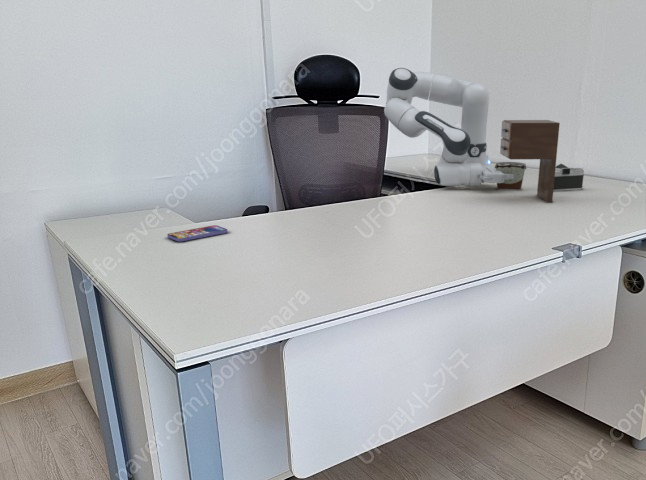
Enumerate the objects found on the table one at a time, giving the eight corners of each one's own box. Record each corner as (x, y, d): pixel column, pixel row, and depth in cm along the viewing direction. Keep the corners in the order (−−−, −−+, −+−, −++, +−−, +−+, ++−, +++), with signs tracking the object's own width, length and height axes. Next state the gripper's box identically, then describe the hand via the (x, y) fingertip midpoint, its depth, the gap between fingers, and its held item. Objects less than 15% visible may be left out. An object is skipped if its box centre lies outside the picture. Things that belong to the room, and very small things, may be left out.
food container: (523, 187, 237) (525, 161, 234) (524, 190, 232) (526, 164, 228) (492, 186, 238) (493, 161, 235) (493, 189, 233) (494, 163, 229)
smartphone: (229, 232, 167) (179, 242, 157) (215, 227, 172) (166, 237, 162) (229, 229, 167) (178, 239, 156) (215, 224, 171) (165, 233, 161)
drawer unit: (495, 195, 221) (499, 120, 211) (541, 195, 221) (547, 120, 212) (503, 203, 207) (508, 122, 198) (552, 202, 208) (559, 122, 199)
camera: (573, 186, 240) (575, 160, 237) (585, 189, 233) (588, 163, 229) (538, 188, 236) (540, 162, 232) (550, 191, 228) (552, 165, 225)
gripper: (481, 170, 222) (517, 170, 222) (472, 162, 241) (505, 162, 241) (480, 187, 224) (516, 187, 224) (471, 178, 243) (504, 178, 244)
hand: (510, 174), depth 233 cm, fingers open, 8 cm apart
